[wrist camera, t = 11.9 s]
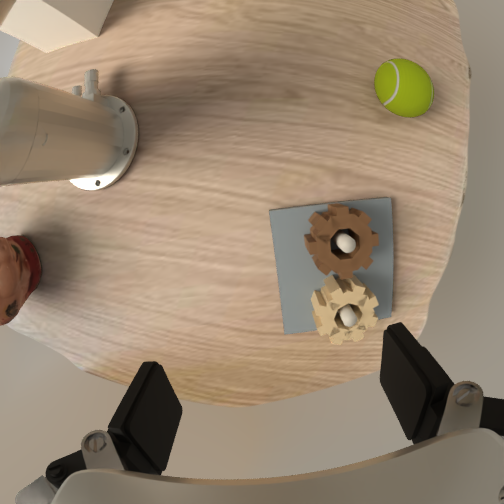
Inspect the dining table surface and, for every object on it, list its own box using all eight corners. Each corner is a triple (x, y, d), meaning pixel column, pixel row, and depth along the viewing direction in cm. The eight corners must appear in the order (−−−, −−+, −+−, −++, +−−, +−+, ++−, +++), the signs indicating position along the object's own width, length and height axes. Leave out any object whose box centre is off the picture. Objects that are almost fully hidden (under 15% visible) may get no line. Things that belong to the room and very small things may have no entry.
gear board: (268, 210, 30) (269, 216, 24) (386, 197, 29) (410, 201, 23) (284, 329, 34) (286, 357, 28) (387, 312, 32) (405, 335, 27)
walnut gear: (300, 207, 29) (305, 211, 25) (363, 200, 28) (376, 203, 24) (307, 271, 30) (312, 283, 26) (366, 262, 30) (379, 273, 26)
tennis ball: (367, 116, 27) (391, 101, 20) (364, 65, 25) (384, 42, 18) (417, 127, 26) (448, 118, 19) (413, 78, 24) (440, 60, 18)
